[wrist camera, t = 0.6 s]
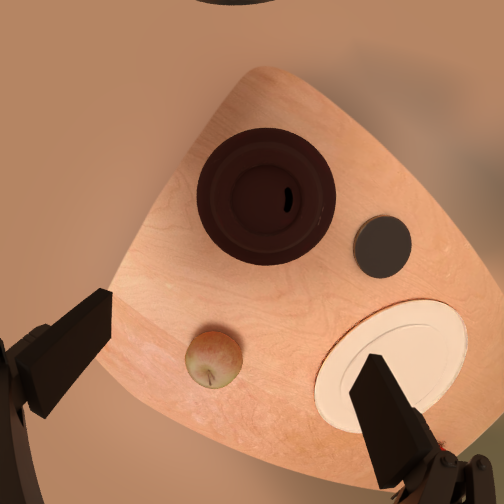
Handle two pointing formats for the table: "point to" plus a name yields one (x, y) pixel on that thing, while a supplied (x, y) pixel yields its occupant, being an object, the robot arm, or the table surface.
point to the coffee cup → (266, 196)
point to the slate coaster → (382, 246)
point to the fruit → (213, 360)
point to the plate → (395, 357)
